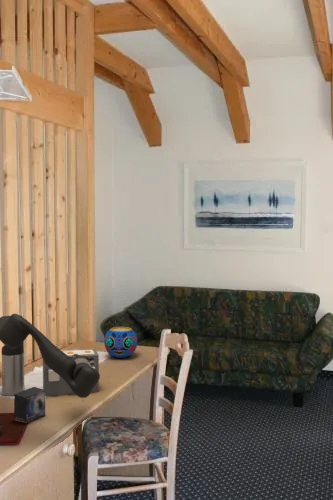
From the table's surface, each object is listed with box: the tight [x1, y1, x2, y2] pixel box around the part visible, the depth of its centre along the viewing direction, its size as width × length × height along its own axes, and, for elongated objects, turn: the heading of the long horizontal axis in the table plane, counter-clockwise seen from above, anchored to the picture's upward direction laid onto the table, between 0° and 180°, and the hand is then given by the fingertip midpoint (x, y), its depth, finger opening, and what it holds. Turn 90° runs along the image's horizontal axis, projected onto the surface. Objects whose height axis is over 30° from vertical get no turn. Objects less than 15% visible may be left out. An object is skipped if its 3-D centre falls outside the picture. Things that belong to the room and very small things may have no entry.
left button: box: [48, 369, 59, 381], centre depth 239 cm, size 4×3×4 cm
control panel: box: [42, 349, 100, 397], centre depth 246 cm, size 23×10×17 cm, turn 105°
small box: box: [13, 386, 46, 424], centre depth 214 cm, size 11×6×10 cm, turn 148°
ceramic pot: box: [103, 326, 138, 359], centre depth 300 cm, size 18×18×15 cm
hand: (75, 356), depth 226 cm, fingers closed
